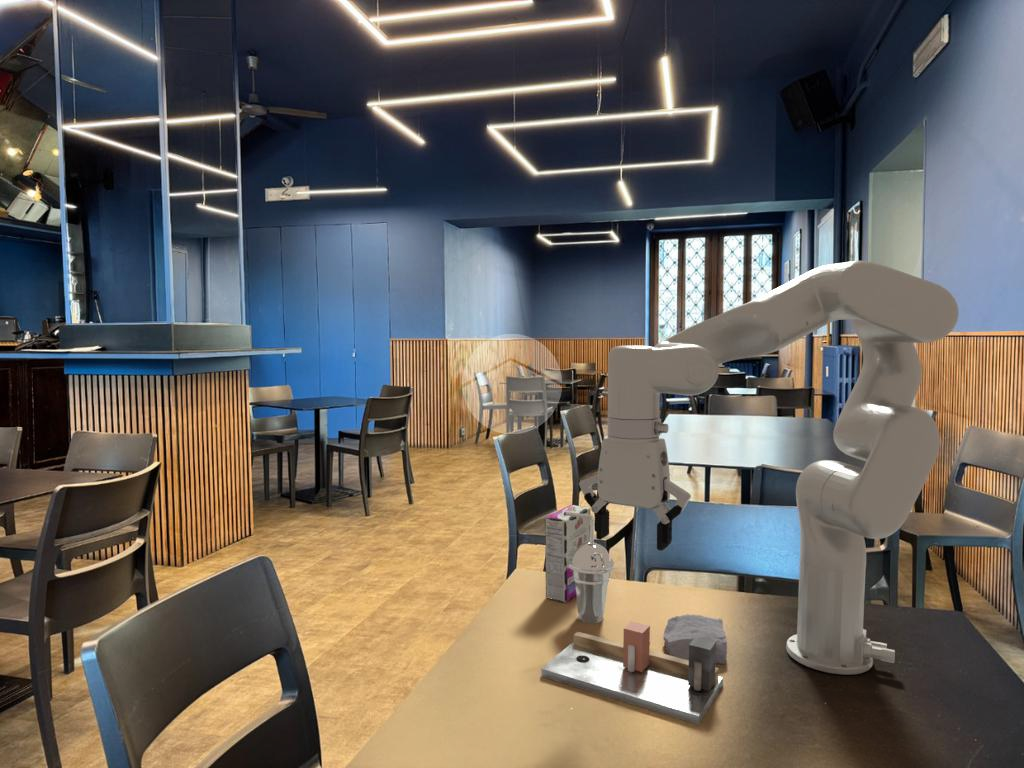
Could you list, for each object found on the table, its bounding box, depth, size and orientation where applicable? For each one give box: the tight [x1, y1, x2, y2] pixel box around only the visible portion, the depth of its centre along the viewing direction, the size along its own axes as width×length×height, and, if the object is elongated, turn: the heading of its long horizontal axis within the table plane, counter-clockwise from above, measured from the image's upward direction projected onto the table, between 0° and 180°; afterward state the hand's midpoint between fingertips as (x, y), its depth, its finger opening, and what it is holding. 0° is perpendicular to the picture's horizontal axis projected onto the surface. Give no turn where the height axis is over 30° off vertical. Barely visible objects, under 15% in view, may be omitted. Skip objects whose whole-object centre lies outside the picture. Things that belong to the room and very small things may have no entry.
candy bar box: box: [544, 504, 591, 604], centre depth 136 cm, size 11×5×16 cm, turn 148°
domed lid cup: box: [564, 512, 616, 624], centre depth 124 cm, size 8×9×20 cm
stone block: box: [663, 614, 728, 665], centre depth 114 cm, size 12×5×10 cm
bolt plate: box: [540, 640, 724, 725], centre depth 102 cm, size 24×12×1 cm, turn 58°
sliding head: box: [623, 621, 651, 672], centre depth 103 cm, size 3×4×6 cm
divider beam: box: [573, 631, 719, 691], centre depth 104 cm, size 23×6×6 cm, turn 58°
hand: (632, 542), depth 102 cm, fingers open, 9 cm apart
